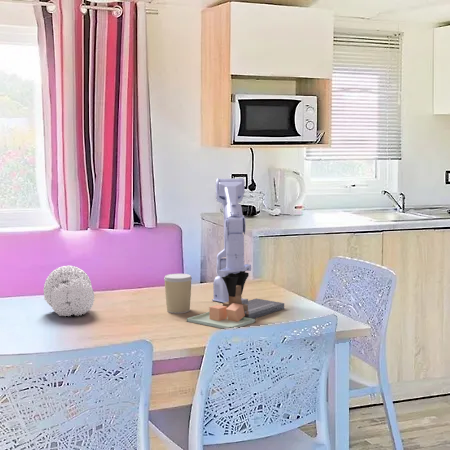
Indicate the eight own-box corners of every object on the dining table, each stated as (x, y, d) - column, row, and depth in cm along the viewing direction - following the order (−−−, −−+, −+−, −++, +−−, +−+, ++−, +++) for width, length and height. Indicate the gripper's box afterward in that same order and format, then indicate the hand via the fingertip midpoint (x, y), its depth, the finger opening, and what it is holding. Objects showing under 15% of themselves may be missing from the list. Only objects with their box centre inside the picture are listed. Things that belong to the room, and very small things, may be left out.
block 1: (217, 316, 245) (209, 319, 242) (217, 304, 244) (209, 307, 241) (226, 318, 242) (219, 321, 239) (226, 306, 242) (219, 308, 239)
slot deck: (219, 314, 248) (219, 306, 248) (256, 304, 263) (256, 295, 263) (248, 320, 241) (248, 311, 240) (284, 308, 256) (284, 300, 256)
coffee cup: (196, 308, 257) (195, 274, 256) (186, 314, 249) (185, 279, 247) (171, 306, 260) (170, 272, 259) (160, 312, 252) (159, 277, 250)
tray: (186, 321, 240) (186, 318, 240) (212, 313, 250) (212, 310, 250) (230, 330, 229) (230, 327, 229) (255, 322, 238) (255, 319, 238)
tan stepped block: (223, 309, 246) (222, 285, 245) (228, 307, 248) (228, 283, 247) (242, 312, 241) (241, 288, 240) (247, 310, 243) (247, 286, 242)
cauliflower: (28, 286, 254) (57, 249, 251) (67, 302, 266) (95, 267, 263) (44, 323, 240) (75, 284, 237) (86, 338, 252) (115, 301, 249)
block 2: (228, 319, 241) (225, 309, 239) (235, 313, 243) (232, 303, 242) (237, 321, 238) (235, 310, 237) (245, 315, 241) (242, 304, 239)
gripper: (230, 258, 234) (231, 300, 236) (258, 252, 245) (258, 293, 247) (213, 256, 239) (213, 297, 240) (241, 250, 250) (241, 290, 251)
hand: (235, 295), depth 244 cm, fingers closed on tan stepped block, 3 cm apart
